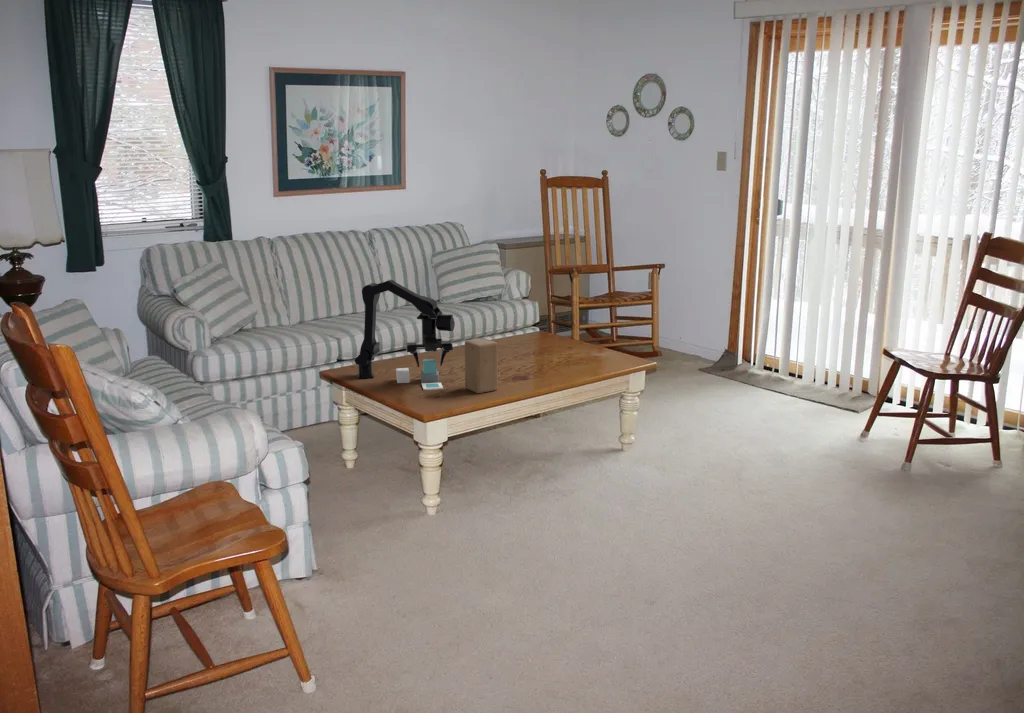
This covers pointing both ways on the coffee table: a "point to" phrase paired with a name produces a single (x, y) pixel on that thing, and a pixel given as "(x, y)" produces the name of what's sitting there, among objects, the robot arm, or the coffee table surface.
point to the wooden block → (481, 365)
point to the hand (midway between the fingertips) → (429, 366)
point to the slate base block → (430, 377)
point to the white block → (402, 375)
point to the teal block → (429, 366)
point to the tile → (432, 386)
